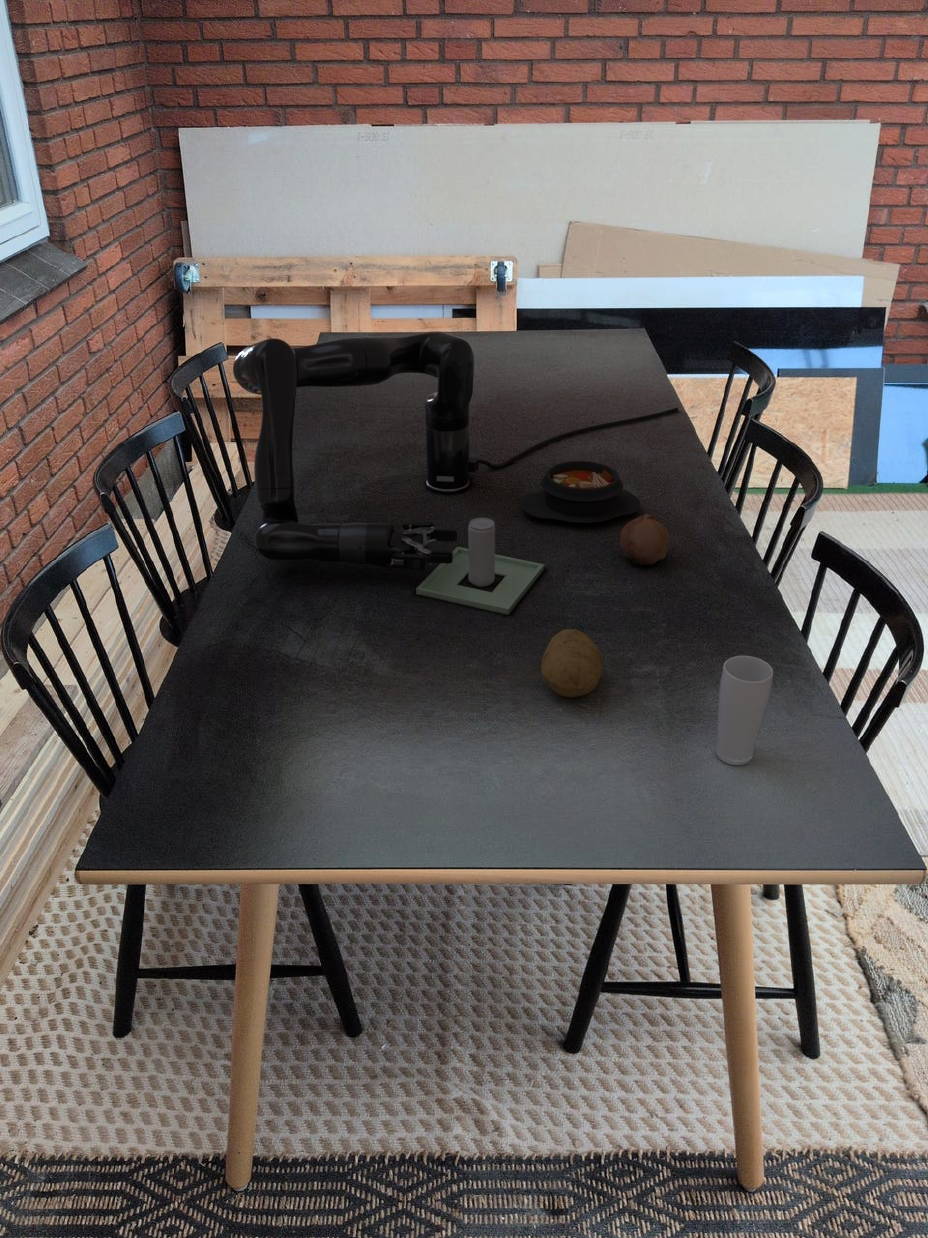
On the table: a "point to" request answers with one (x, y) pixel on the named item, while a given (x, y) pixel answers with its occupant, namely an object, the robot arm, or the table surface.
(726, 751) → the drinking glass
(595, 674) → the potato
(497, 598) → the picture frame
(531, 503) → the casserole
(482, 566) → the beverage can
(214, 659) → the table surface
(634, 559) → the onion
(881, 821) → the table surface
